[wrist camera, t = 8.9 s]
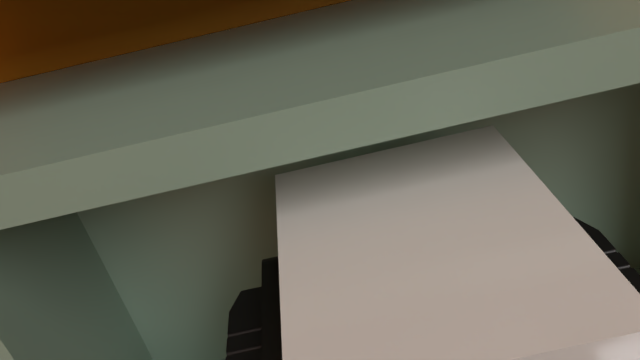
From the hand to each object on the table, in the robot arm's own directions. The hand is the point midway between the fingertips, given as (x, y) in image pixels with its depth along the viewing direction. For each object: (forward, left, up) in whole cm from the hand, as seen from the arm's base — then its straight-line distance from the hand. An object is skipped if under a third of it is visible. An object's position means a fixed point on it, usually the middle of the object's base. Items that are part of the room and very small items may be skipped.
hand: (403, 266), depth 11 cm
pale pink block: (0, 0, 0) cm, 0 cm away
